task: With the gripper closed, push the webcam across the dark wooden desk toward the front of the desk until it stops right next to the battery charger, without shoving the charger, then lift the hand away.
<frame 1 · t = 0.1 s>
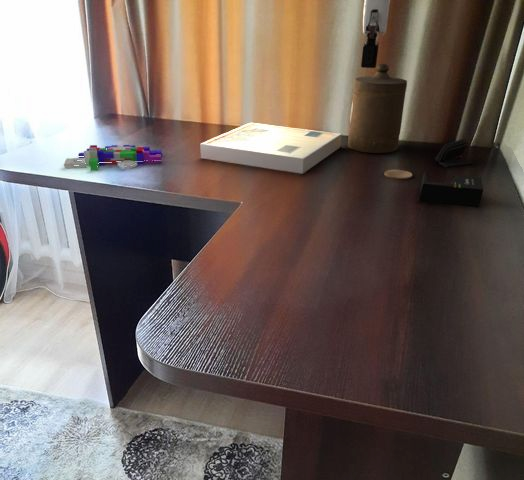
hand: (368, 64, 114), 25 cm above the table, tool pointing down, fingers open, 9 cm apart
webcam: (451, 163, 140), on the table
battery charger: (448, 198, 117), on the table
flat white box: (273, 153, 146), on the table
building block set: (115, 159, 139), on the table
wooden container: (372, 147, 153), on the table
coaster: (398, 175, 130), on the table
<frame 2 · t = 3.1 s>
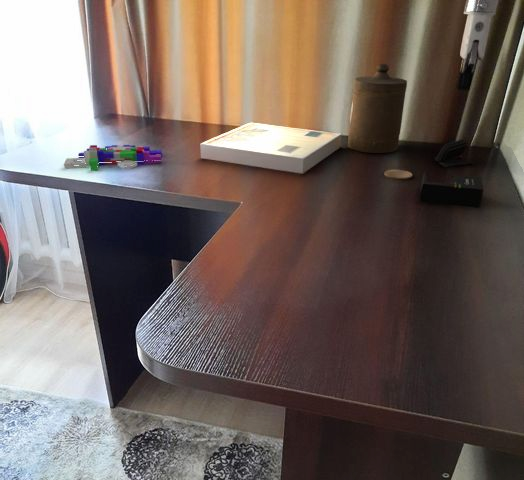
hand: (462, 88, 137), 17 cm above the table, tool pointing down, fingers closed
nothing on the table moved.
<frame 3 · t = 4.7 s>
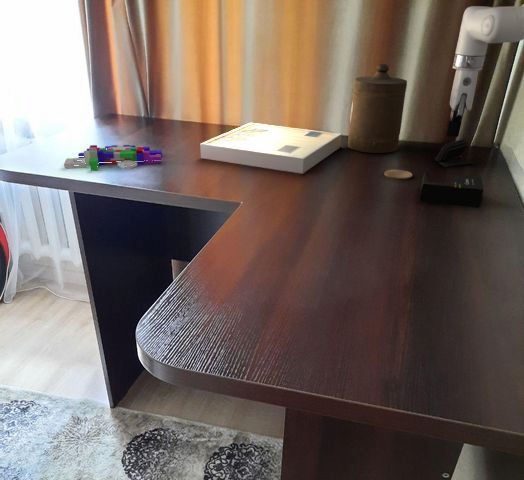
hand: (452, 135, 145), 5 cm above the table, tool pointing down, fingers closed
nothing on the table moved.
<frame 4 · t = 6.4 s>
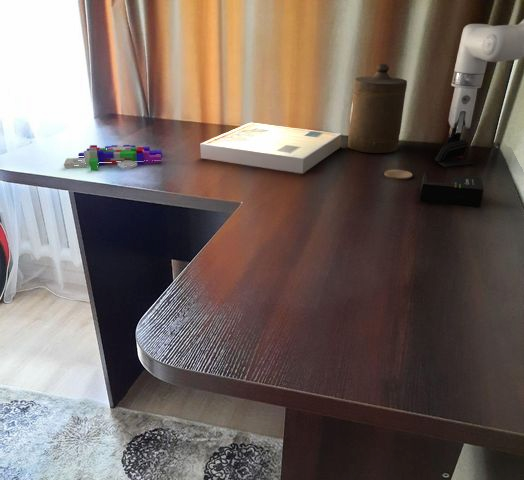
hand: (450, 152, 143), 1 cm above the table, tool pointing down, fingers closed
webcam: (452, 164, 140), on the table, touching gripper
everything else where it was.
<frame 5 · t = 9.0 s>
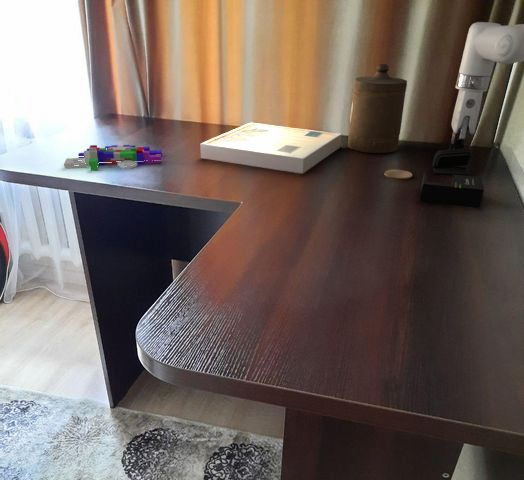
hand: (453, 159, 135), 2 cm above the table, tool pointing down, fingers closed
webcam: (449, 172, 133), on the table, touching gripper
everything else where it was.
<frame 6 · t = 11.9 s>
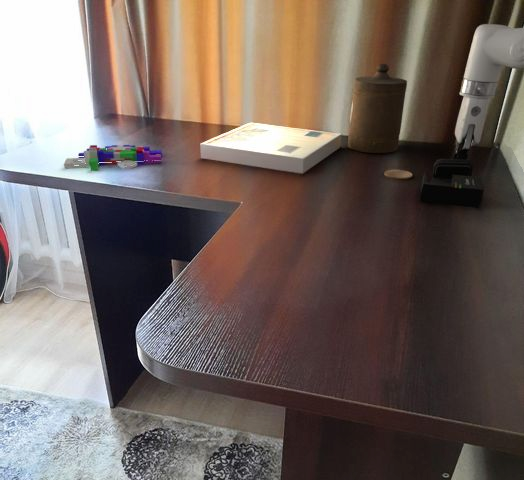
hand: (456, 169, 127), 2 cm above the table, tool pointing down, fingers closed
webcam: (449, 183, 126), on the table, touching gripper
everything else where it was.
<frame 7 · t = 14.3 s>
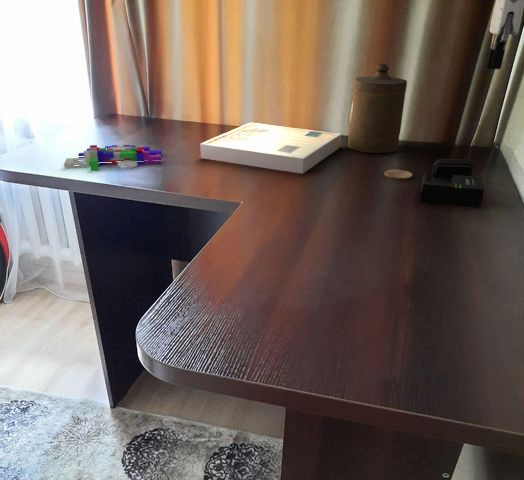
hand: (492, 68, 124), 23 cm above the table, tool pointing down, fingers closed
webcam: (449, 183, 126), on the table
everything else where it was.
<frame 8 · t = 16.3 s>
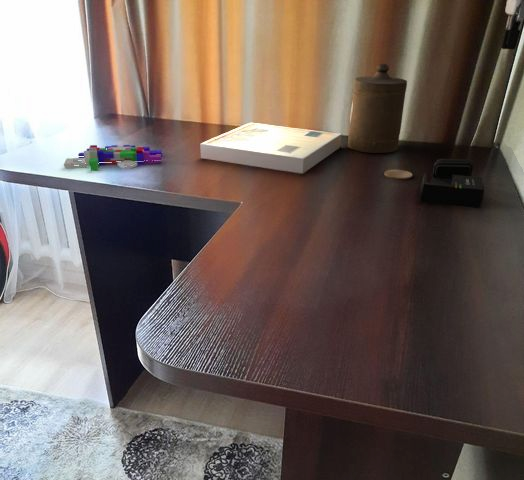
hand: (507, 48, 127), 27 cm above the table, tool pointing down, fingers closed
nothing on the table moved.
at the end: webcam 11.8 cm from the battery charger (horizontally); webcam moved 18.7 cm from its start; battery charger moved 0.4 cm from its start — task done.
